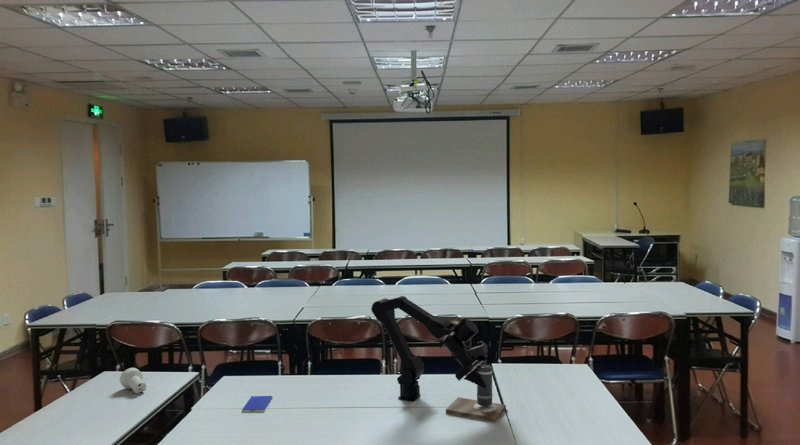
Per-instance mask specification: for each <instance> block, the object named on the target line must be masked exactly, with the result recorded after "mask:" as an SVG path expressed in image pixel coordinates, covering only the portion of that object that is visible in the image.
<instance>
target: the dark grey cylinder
mask: <svg viewBox="0 0 800 445" xmlns="http://www.w3.org/2000/svg"><path fill="white" fill-rule="evenodd" d="M477 367H478V374H479V375H480V377H481V378H482V380H483V381H484V383H485V384H486V387H485V388H483V387H481V386H479V385H477V384H476V398H477V399H476V400H477V404H478V405H481V406H490V405H492V403H493V366H491V365H490V364H486V365H478V366H477Z"/></svg>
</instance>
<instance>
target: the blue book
mask: <svg viewBox="0 0 800 445" xmlns="http://www.w3.org/2000/svg"><path fill="white" fill-rule="evenodd" d="M272 400H273V396H272V395H252V396H250V398H249V399H248V401H247V402H246V403H245V405H244V406H243V408H242V409H241V413H264V412H266V410H267V408H268V406H269V405H270V403H271V402H272Z"/></svg>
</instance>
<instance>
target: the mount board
mask: <svg viewBox="0 0 800 445" xmlns="http://www.w3.org/2000/svg"><path fill="white" fill-rule="evenodd" d="M506 410H507V405H506V404H501V403H495V402H492V405H490V406H481V405H478V404H477V399H472V398H471V399H470V398H465V397H459V396H458V397H457V398H456V399H454V401H453V402H451V403H450V405H449V406H447V407H446V408H445V414H447V415H453V416H459V417H464V418H469V417H470V419H476V420H482V421H487V422H491V423H497V421H498V420H499V419H500V417H501V416H502V415H503V414H504V412H505V411H506Z"/></svg>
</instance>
